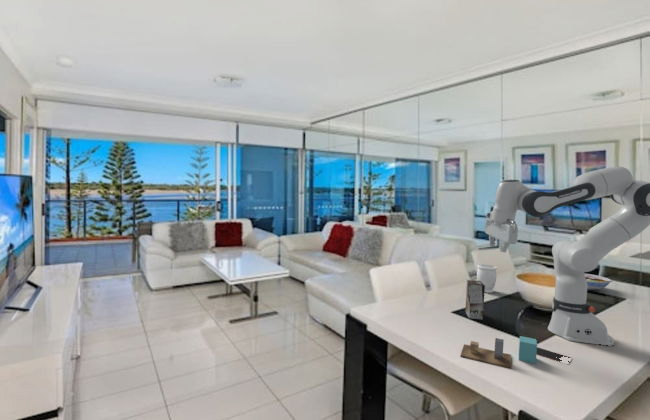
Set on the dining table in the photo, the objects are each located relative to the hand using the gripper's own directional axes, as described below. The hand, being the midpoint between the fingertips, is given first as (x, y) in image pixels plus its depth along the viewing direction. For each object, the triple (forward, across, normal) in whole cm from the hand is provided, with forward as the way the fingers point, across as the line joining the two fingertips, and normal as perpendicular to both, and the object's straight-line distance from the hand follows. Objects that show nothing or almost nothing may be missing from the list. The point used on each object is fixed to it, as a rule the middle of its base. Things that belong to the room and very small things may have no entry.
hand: (497, 248), depth 150 cm
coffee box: (+36, +11, -1) cm, 38 cm away
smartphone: (+32, -27, -11) cm, 44 cm away
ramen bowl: (+33, +60, -96) cm, 118 cm away
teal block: (+32, -30, -1) cm, 44 cm away
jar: (+38, +52, -27) cm, 69 cm away
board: (+34, -29, +13) cm, 46 cm away
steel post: (+33, -31, +10) cm, 46 cm away
